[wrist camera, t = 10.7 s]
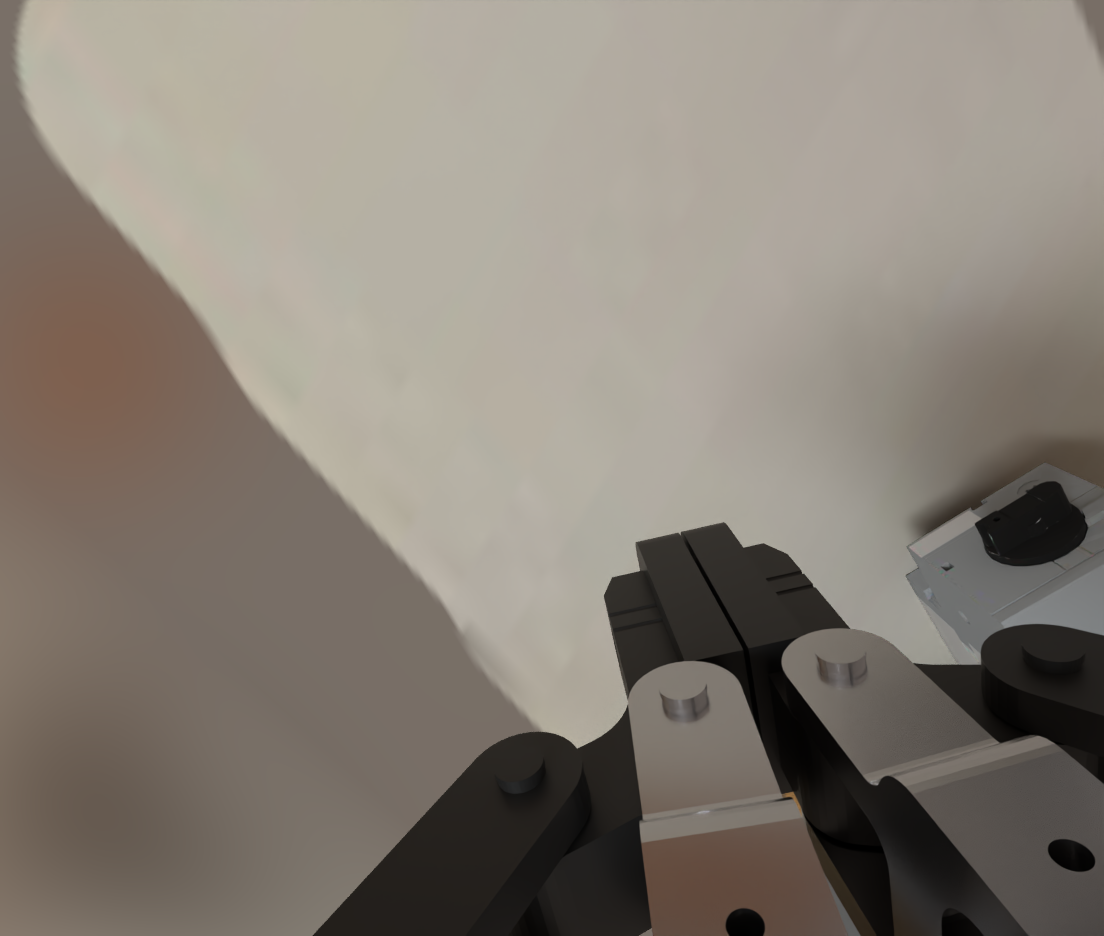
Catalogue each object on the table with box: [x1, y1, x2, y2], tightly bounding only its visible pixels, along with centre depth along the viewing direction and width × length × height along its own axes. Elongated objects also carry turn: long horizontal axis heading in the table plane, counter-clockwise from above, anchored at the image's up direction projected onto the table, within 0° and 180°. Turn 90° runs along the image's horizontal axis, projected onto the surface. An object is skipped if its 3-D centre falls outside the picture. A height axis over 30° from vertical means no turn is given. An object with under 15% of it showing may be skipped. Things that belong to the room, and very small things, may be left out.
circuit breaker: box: [906, 462, 1104, 665], centre depth 34 cm, size 8×14×15 cm, turn 35°
